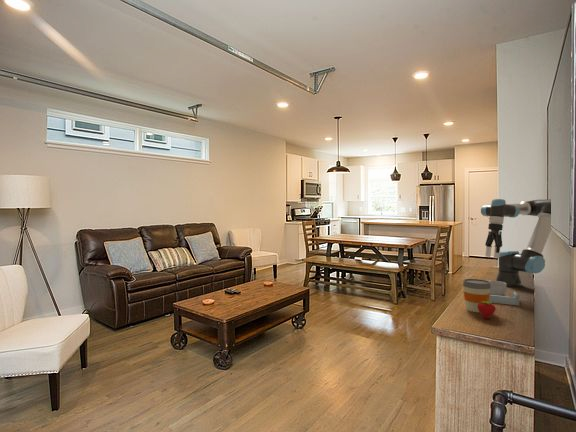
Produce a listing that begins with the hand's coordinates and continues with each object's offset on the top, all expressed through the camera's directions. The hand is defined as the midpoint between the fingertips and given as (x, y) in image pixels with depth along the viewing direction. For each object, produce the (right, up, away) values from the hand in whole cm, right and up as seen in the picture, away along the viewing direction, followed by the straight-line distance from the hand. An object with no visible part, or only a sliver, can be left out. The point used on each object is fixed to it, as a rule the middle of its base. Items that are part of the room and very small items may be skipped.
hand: (491, 257), depth 208 cm
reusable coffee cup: (-29, -23, -35) cm, 51 cm away
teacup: (-1, -22, -5) cm, 23 cm away
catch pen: (-7, -22, -15) cm, 28 cm away
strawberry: (-33, -23, -49) cm, 63 cm away
